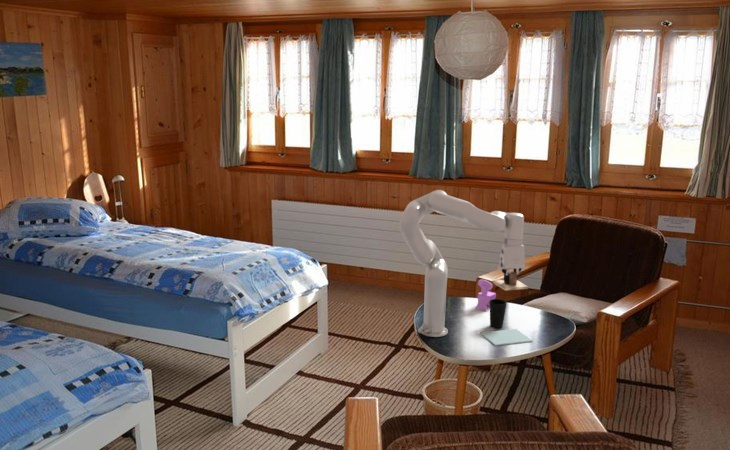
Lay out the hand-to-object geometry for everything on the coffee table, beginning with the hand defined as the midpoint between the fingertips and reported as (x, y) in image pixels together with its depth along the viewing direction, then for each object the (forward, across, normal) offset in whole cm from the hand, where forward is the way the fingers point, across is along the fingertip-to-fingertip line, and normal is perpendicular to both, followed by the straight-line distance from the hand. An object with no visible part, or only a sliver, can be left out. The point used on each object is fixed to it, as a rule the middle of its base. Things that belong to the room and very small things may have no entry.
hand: (510, 282), depth 283 cm
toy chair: (+26, +9, +38) cm, 47 cm away
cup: (+26, +2, +13) cm, 29 cm away
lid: (+1, 0, 0) cm, 1 cm away
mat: (+26, 0, 0) cm, 26 cm away
